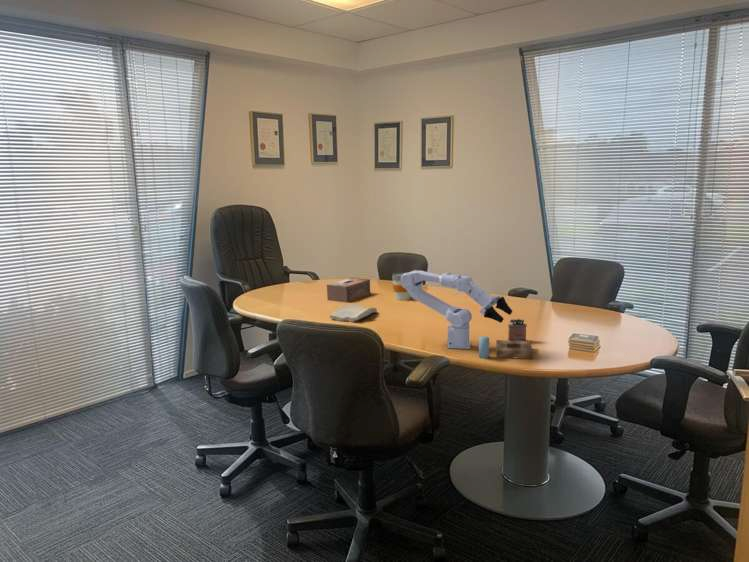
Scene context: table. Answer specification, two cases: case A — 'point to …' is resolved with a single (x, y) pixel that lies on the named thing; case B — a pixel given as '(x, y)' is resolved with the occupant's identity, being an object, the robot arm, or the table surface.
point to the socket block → (514, 349)
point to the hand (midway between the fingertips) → (506, 316)
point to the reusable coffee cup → (399, 288)
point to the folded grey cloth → (351, 313)
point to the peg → (484, 347)
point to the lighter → (517, 330)
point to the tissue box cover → (348, 289)
